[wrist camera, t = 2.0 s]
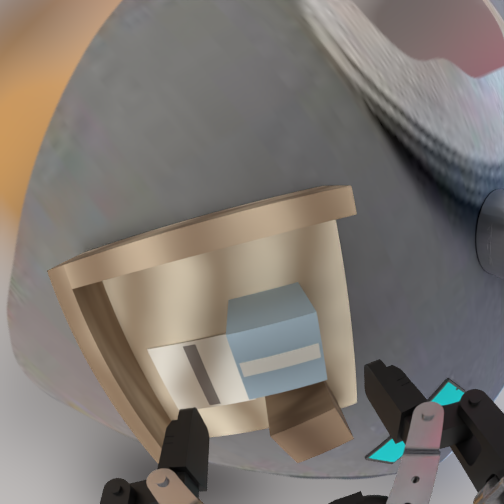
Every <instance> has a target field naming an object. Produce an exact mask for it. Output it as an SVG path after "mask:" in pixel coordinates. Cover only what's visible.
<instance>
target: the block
mask: <svg viewBox="0 0 504 504" xmlns="http://www.w3.org/2000/svg"><path fill="white" fill-rule="evenodd" d="M226 337H227V340H228V343H229V346H230V348H231V351H232V354H233V357H234V360H235V363H236V365H237V368H238V371H239V374H240V376H241V379H242V382H243V384H244V387H245V390H246V392H247V395H248V398H249V400H250V399H255V398H259V397H264V396H269V395H273V394H277V393H281V392H285V391H289V390H293V389H297V388H301V387H304V386H308V385H311V384H315V383H318V382H321V381H325V380H327V373H326V366H325V360H324V353H323V347H322V341H321V335H320V329H319V323H318V317H317V312H316V310H315V309H314V307H313V305H312V304H311V302H310V300H309V299H308V297H307V296H306V294H305V292H304V291H303V289H302V288H301V286H300V284H299V283H298V282H296V283H293V284H289V285H285V286H281V287H278V288H274V289H270V290H266V291H262V292H258V293H254V294H250V295H246V296H242V297H238V298H234V299H230V300H228V313H227V326H226Z"/></svg>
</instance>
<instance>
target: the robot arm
mask: <svg viewBox="0 0 504 504" xmlns="http://www.w3.org/2000/svg"><path fill="white" fill-rule="evenodd" d="M476 245H477V254H478V258H479V261H480V264H481V266H482V267H483V269H484V270H485V271H487V272H488V273H490V274H492V275H495V276H497V277H499V278H501V279H504V189H497V190H494V191H493V192H491V193H490V195H489V196H488V197H487V198H486V200H485V202H484V204H483V206H482V209H481V212H480V215H479V220H478V225H477V234H476ZM364 377H365V392H366V395H367V398H368V399H369V401H370V403H371V404H372V406H373V408H374V409H375V411H376V412H377V414H378V416H379V417H380V419H381V421H382V422H383V424H384V426H385V427H386V429H387V431H388V432H389V434H390V436H391V437H392V439H393V441H394V442H395V444H397V443H399V442H401V441H403V442H404V444H405V449H404V452H403V456H402V459H401V463H400V466H399V469H398V472H397V475H396V478H395V481H394V484H393V487H392V490H391V492H390V495H389V497H387V496H381V495H367V496H363V495H362V493H361V491H360V492H357V493H355V494H352V495H349V496H346V497H343V498H340V499H337V500H334V501H333V502H331V503H329V504H429V501H430V498H431V494H432V490H433V487H434V483H435V478H436V474H437V470H438V465H439V460H440V451H439V449H441V448H445V447H448V446H450V447H451V449H452V451H453V452H454V454H455V455H456V457H457V459H458V460H459V461H460V463H461V465H462V467H463V468H464V470H465V471H466V473H467V475H468V477H469V478H470V480H471V481H472V483H473V485H474V487H475V488H476V490H477V492H478V494H477V495H476V496H475V498H474V501H473V504H504V413H503V412H502V411H501V410H500V409H499V408H498V407H497V406H496V404H495V403H494V402H493V401H492V400H491V399H490V398H489V397H488V396H487V395H486V393H484V392H483V391H481V390H478V389H473V390H469V391H467V392H465V393H464V394H463V395H462V397H461V399H460V401H458V402H455V403H451V404H448V405H442V406H441V405H440V404H438V403H436V402H429V401H428V400H427V399H426V398H425V397H424V396H423V394H422V393H421V392H420V391H419V390H418V389H417V387H416V386H415V385H414V384H413V383H412V382H411V380H410V379H409V378H408V377H407V376H406V375H405V373H404V372H403V371H402V370H401V369H399V368H397V367H395V366H393V365H391V366H389V367H386V366H385V364H384V363H383V362H382V361H381V360H380V359H379V360H376V361H374V362H371V363H368V364H366V365H365V366H364ZM208 454H209V432H208V429H207V426H206V424H205V423H204V421H203V419H202V417H201V415H200V413H199V412H198V410H197V408H195V407H193V408H186V409H180V410H179V414H178V419H177V420H172V421H171V422H170V424H169V425H168V426H167V428H166V432H165V438H164V441H163V445H162V450H161V455H160V459H159V464H158V469H157V470H155V471H153V472H152V473H150V475H149V476H148V478H147V480H144V481H140V482H135V483H131V484H129V483H128V482H127V481H126V480H124V479H121V478H116V479H112V480H110V481H109V482H107V483H106V485H105V486H104V489H103V493H102V497H101V501H100V504H203V502H202V501H201V500H200V499H199V491H207V474H208Z"/></svg>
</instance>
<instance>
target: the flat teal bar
mask: <svg viewBox="0 0 504 504" xmlns="http://www.w3.org/2000/svg"><path fill="white" fill-rule="evenodd" d="M465 392H466V391H465V390H464V389H462V388H461V387H460V386H458V385H457V384H455V383H454V382H453V381H451V380H450V379H449V378H447V379H446V380H445V381H444V382H443V383H442V384H441V385H440V387H439V388H438V389H437V390H436V391H435V392H434V393H433V394H432V396H431V397H430V398H429V399H428V401H429V402H436V403H438V404H440V405H441V406H442V405H448V404H451V403H455V402H458V401H460V399H461V397H462V395H463V394H464V393H465ZM404 449H405V444H404V442H403V441H401V442H399V443H397V444H395V442H394V441H393V439H392V437H391V436H389V437H388V438H387V439H386V440H385V441H384V442H382V443H381V444H380V445H379V446H378V447H376V448H375V449H374V450H373V451H371V452H370V453H369V454H368V455H366V456H365V459H366V460H370V461H375V462H381V463H388V464H393V463H394V462H396V461H397V460H398V459H400V458H401V457H402V456H403V452H404Z"/></svg>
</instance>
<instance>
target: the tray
mask: <svg viewBox="0 0 504 504" xmlns="http://www.w3.org/2000/svg"><path fill="white" fill-rule="evenodd" d="M356 214H357V213H356V207H355V202H354V197H353V192H352V187H351V186H319V187H315V188H311V189H306V190H302V191H297V192H293V193H289V194H285V195H280V196H276V197H272V198H268V199H264V200H260V201H256V202H252V203H248V204H244V205H240V206H237V207H233V208H229V209H225V210H222V211H218V212H214V213H211V214H207V215H203V216H200V217H196V218H193V219H189V220H186V221H182V222H179V223H175V224H172V225H168V226H165V227H162V228H158V229H155V230H152V231H149V232H145V233H142V234H139V235H136V236H133V237H129V238H126V239H123V240H120V241H117V242H114V243H111V244H108V245H105V246H102V247H99V248H96V249H93V250H90V251H87V252H84V253H82V254H80V255H78V256H76V257H74V258H72V259H70V260H68V261H65V262H63V263H61V264H59V265H57V266H56V267H54V268H52V269H50V270H48V271H47V272H48V275H49V277H50V280H51V283H52V286H53V288H54V291H55V293H56V296H57V298H58V301H59V303H60V306H61V308H62V311H63V313H64V315H65V317H66V320H67V322H68V324H69V326H70V328H71V331H72V333H73V335H74V337H75V339H76V341H77V343H78V345H79V347H80V349H81V351H82V353H83V355H84V356H85V358H86V360H87V362H88V364H89V366H90V367H91V369H92V371H93V373H94V374H95V376H96V378H97V380H98V381H99V383H100V385H101V386H102V388H103V389H104V391H105V393H106V394H107V396H108V397H109V399H110V401H111V402H112V404H113V405H114V407H115V408H116V410H117V411H118V412H119V414H120V415H121V417H122V418H123V420H124V421H125V422H126V424H127V425H128V427H129V428H130V429H131V431H132V432H133V433H134V435H135V436H136V437H137V438H138V440H139V441H140V442H141V444H142V445H143V446H144V447H145V448H146V450H147V451H148V452H149V453H150V454H151V456H152V457H153V458H154V459H155V461H156V462H157V463H158V464H159V459H160V455H161V450H162V445H163V441H164V438H165V432H166V428H167V426H168V425H169V424H170V422H171V421H172V420H177V419H178V414H179V410H180V409H186V408H193V407H195V408H197V410H198V412H199V413H200V415H201V417H202V419H203V421H204V423H205V424H206V426H207V429H208V432H209V437H218V436H225V435H232V434H239V433H245V432H250V431H256V430H261V429H266V428H269V423H268V416H267V408H266V401H265V396H264V397H259V398H255V399H250V400H249V398H248V395H247V392H246V390H245V387H244V384H243V382H242V379H241V376H240V374H239V371H238V368H237V365H236V363H235V360H234V357H233V354H232V351H231V348H230V346H229V343H228V340H227V337H226V326H227V313H228V300H230V299H234V298H238V297H242V296H246V295H250V294H254V293H258V292H262V291H266V290H270V289H274V288H278V287H281V286H285V285H289V284H293V283H296V282H298V283H299V284H300V286H301V288H302V289H303V291H304V292H305V294H306V296H307V297H308V299H309V300H310V302H311V304H312V305H313V307H314V309H315V310H316V312H317V317H318V323H319V329H320V335H321V341H322V347H323V353H324V360H325V366H326V373H327V380H325V381H326V383H327V384H328V386H329V388H330V390H331V391H332V393H333V395H334V396H335V398H336V400H337V402H338V404H339V406H340V408H344V407H347V406H350V405H353V404H355V403H357V390H356V372H355V358H354V346H353V335H352V325H351V316H350V307H349V299H348V292H347V285H346V278H345V271H344V264H343V258H342V252H341V246H340V241H339V235H338V230H337V224H336V219H340V218H344V217H348V216H352V215H356Z"/></svg>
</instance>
